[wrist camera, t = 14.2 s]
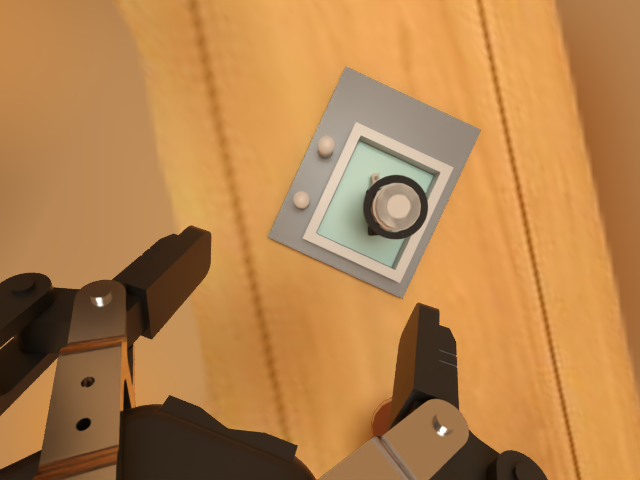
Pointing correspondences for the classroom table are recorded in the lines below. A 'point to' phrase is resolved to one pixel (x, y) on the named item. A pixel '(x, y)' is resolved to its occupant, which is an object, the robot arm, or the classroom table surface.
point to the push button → (394, 206)
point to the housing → (355, 179)
